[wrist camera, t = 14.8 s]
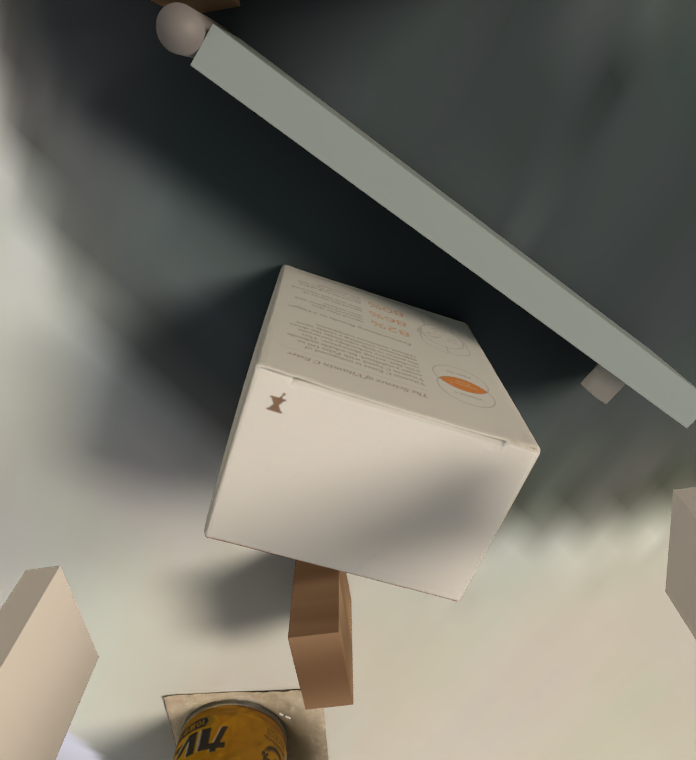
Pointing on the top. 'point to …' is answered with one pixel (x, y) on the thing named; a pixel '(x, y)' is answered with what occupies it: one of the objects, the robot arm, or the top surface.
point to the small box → (369, 440)
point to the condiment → (246, 726)
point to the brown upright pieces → (313, 589)
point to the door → (425, 209)
